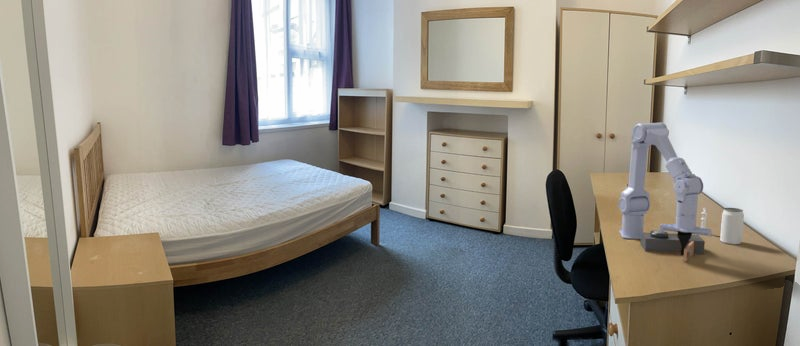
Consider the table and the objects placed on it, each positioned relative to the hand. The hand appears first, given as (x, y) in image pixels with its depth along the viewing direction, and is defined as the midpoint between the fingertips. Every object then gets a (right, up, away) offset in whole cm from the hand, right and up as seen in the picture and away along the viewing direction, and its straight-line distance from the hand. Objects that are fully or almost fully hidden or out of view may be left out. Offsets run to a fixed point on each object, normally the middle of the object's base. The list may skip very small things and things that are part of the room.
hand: (683, 254), depth 162 cm
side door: (+2, -1, +1) cm, 3 cm away
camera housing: (+1, 0, +10) cm, 10 cm away
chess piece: (+23, +3, +27) cm, 35 cm away
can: (+26, +2, +16) cm, 30 cm away
